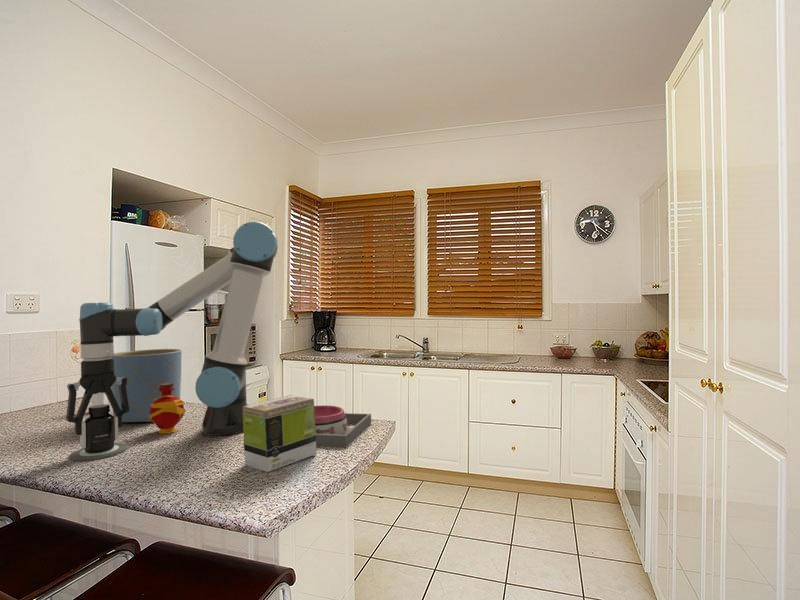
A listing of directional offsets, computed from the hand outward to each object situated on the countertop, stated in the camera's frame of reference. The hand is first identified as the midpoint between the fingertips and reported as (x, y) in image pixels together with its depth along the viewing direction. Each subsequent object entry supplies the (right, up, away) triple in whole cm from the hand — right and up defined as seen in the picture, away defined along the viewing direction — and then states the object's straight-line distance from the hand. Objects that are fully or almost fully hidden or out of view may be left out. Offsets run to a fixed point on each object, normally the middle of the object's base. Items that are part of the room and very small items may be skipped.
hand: (99, 442), depth 122 cm
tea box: (+52, -1, -10) cm, 53 cm away
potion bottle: (+9, -3, +20) cm, 22 cm away
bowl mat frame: (+58, -1, +14) cm, 60 cm away
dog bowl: (+57, -2, +14) cm, 59 cm away
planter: (-9, -3, +39) cm, 40 cm away
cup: (-34, -4, +51) cm, 61 cm away
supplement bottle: (0, -2, 0) cm, 2 cm away
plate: (0, -3, 0) cm, 3 cm away
